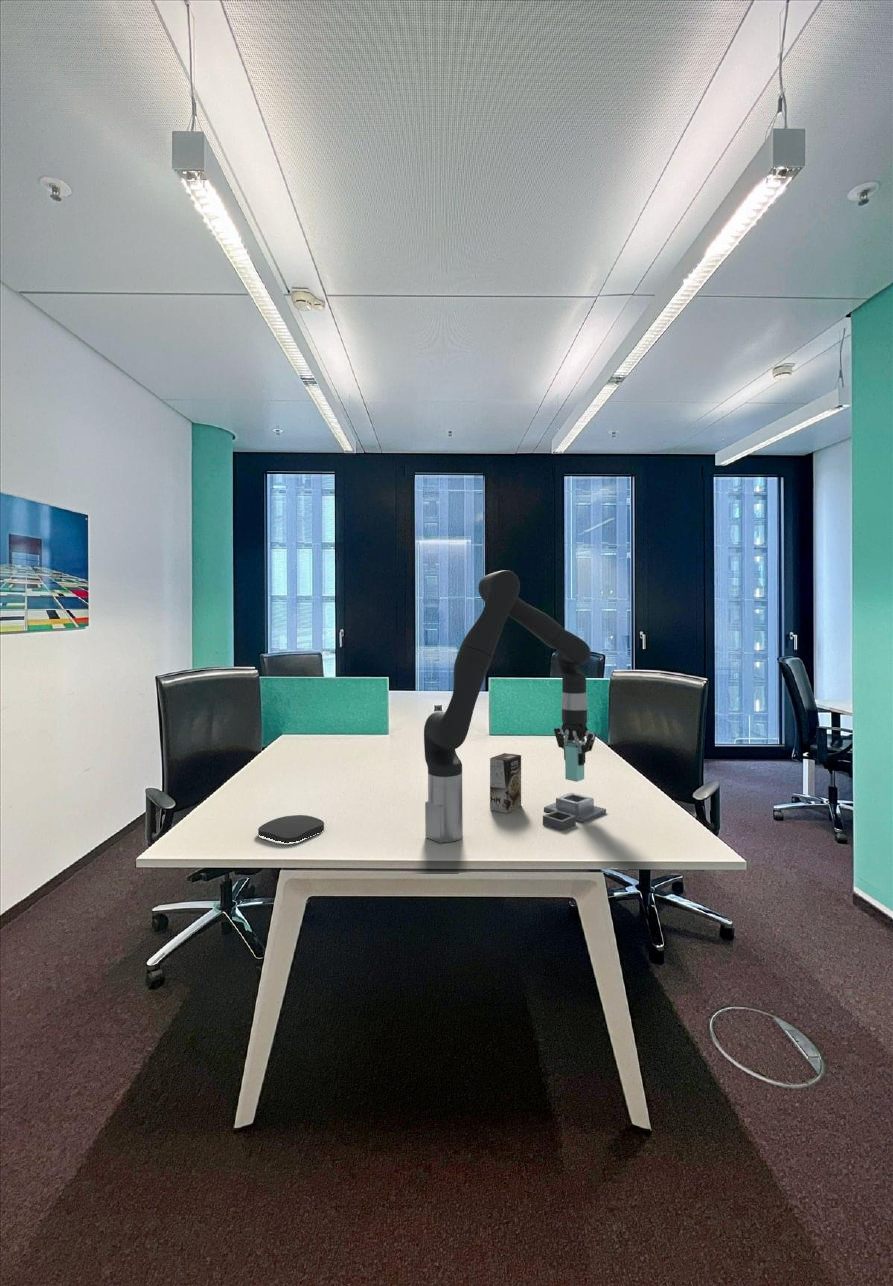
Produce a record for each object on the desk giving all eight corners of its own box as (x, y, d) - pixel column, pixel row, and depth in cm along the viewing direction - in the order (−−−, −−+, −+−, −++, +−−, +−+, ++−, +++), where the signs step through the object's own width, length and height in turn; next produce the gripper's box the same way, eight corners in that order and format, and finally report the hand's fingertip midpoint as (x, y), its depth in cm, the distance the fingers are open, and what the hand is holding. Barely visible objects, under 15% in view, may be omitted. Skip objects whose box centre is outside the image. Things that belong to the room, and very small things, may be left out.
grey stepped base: (583, 823, 153) (583, 808, 153) (543, 811, 164) (543, 797, 164) (606, 813, 161) (606, 799, 161) (567, 802, 172) (567, 789, 172)
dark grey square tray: (562, 830, 148) (562, 821, 148) (542, 824, 153) (542, 815, 152) (576, 824, 152) (575, 816, 152) (556, 818, 157) (556, 810, 157)
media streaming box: (290, 849, 138) (289, 837, 138) (251, 837, 145) (251, 826, 145) (330, 830, 150) (330, 819, 150) (293, 821, 158) (293, 811, 158)
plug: (576, 781, 160) (576, 745, 159) (565, 779, 163) (565, 742, 162) (584, 779, 162) (584, 742, 162) (573, 776, 165) (572, 740, 165)
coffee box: (507, 814, 162) (507, 760, 161) (489, 809, 165) (488, 757, 165) (522, 805, 169) (522, 754, 168) (504, 802, 173) (504, 752, 172)
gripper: (547, 706, 164) (547, 762, 165) (587, 711, 154) (588, 770, 155) (561, 703, 170) (562, 757, 170) (602, 708, 159) (602, 765, 160)
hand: (574, 763), depth 162 cm, fingers closed on plug, 4 cm apart
